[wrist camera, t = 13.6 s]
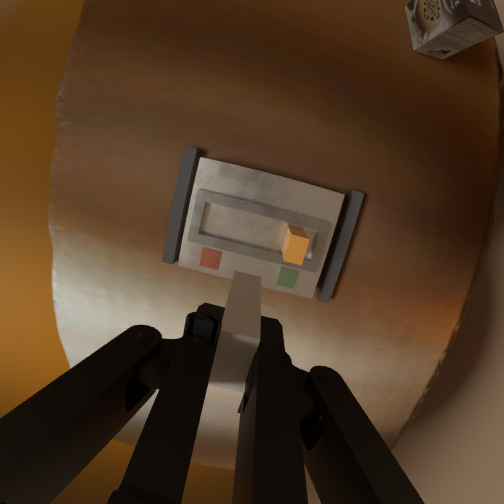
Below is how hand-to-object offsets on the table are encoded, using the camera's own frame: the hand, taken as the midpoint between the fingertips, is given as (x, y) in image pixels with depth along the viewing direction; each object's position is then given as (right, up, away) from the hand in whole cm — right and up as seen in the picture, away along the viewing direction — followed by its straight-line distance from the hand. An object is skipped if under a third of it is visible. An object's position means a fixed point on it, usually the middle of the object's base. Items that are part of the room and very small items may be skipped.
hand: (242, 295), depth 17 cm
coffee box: (+28, +37, +14) cm, 49 cm away
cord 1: (-9, +9, +23) cm, 26 cm away
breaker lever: (+5, +4, +20) cm, 21 cm away
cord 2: (+13, +3, +24) cm, 27 cm away
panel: (+2, +6, +24) cm, 24 cm away
